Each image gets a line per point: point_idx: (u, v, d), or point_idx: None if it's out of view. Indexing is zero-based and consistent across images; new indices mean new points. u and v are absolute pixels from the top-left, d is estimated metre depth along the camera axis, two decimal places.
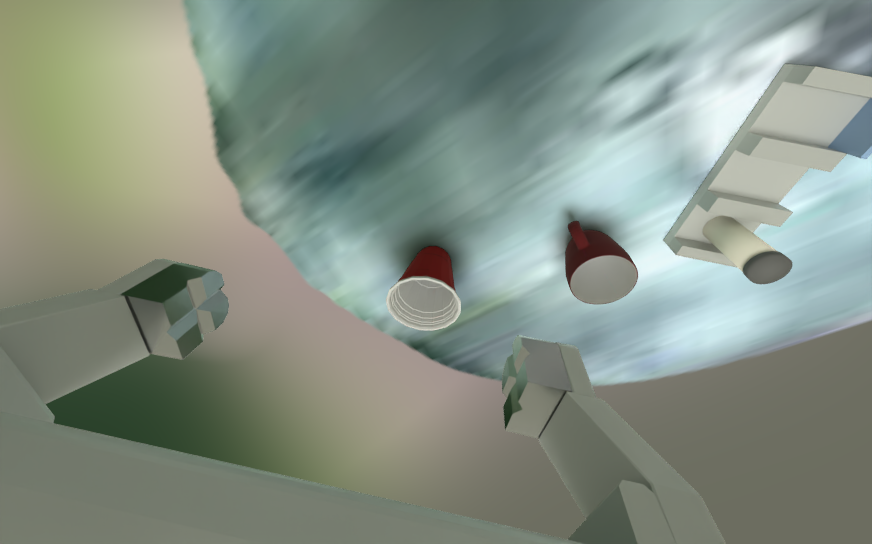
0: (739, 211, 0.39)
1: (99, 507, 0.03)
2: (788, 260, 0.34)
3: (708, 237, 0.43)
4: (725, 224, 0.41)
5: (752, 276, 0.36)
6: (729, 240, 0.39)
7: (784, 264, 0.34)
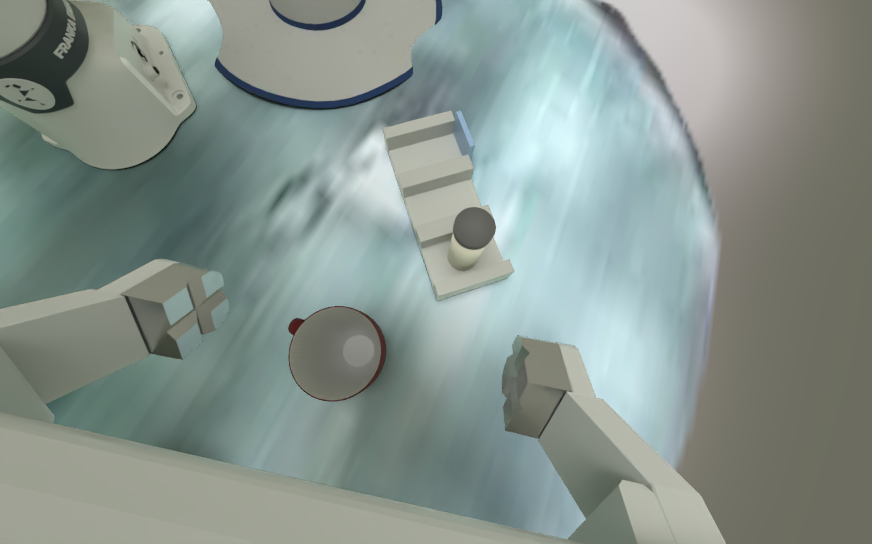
0: (445, 226, 0.37)
1: (99, 507, 0.03)
2: (476, 208, 0.29)
3: (455, 265, 0.37)
4: None
5: (467, 241, 0.28)
6: (450, 244, 0.34)
7: (478, 213, 0.29)
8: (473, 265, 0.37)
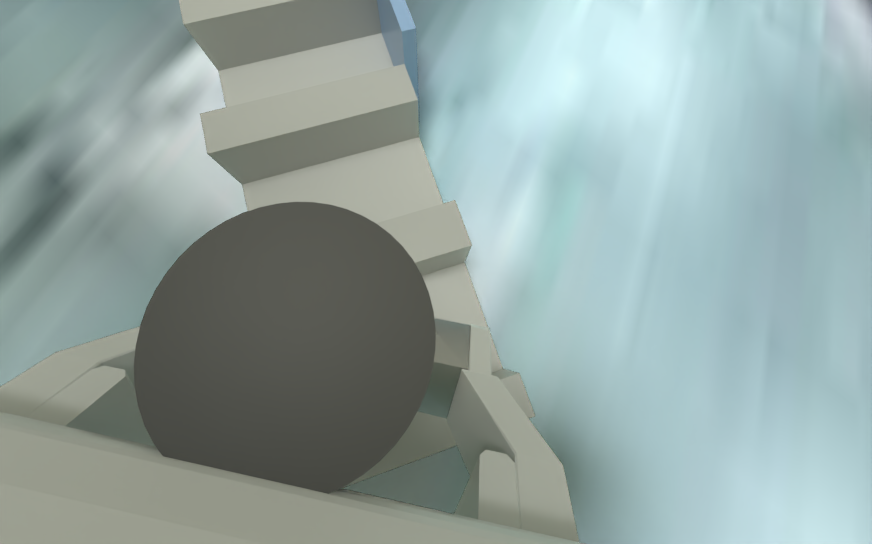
0: None
1: (99, 507, 0.03)
2: (318, 212, 0.05)
3: None
4: None
5: (218, 459, 0.04)
6: None
7: (327, 247, 0.04)
8: None
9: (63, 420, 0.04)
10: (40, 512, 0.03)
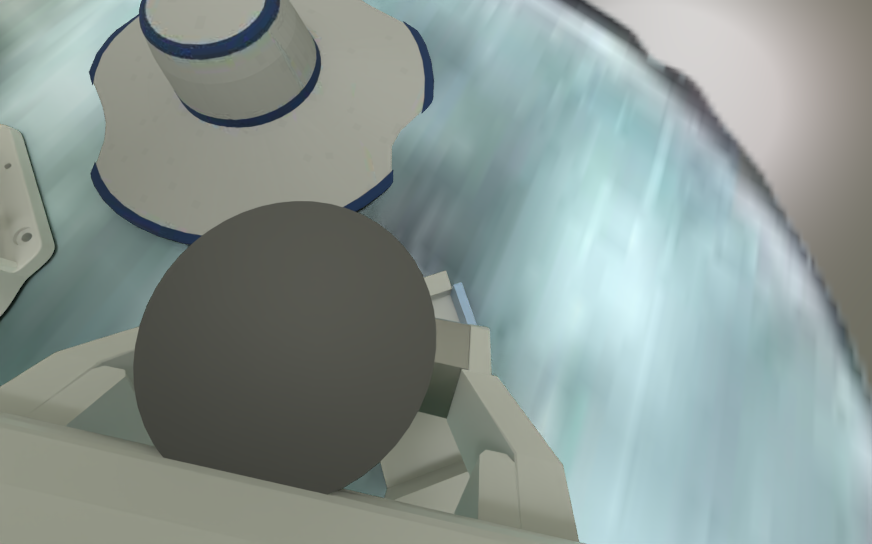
0: (436, 504, 0.21)
1: (99, 507, 0.03)
2: (318, 212, 0.04)
3: None
4: None
5: (218, 459, 0.04)
6: None
7: (328, 246, 0.04)
8: None
9: (63, 420, 0.04)
10: (40, 512, 0.03)
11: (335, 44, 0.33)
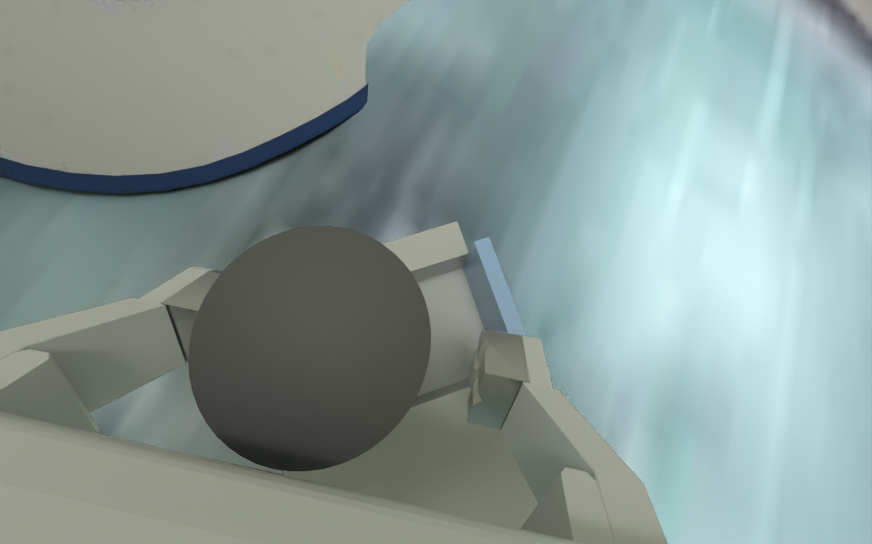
0: None
1: (99, 507, 0.03)
2: (334, 235, 0.05)
3: None
4: None
5: (257, 434, 0.05)
6: None
7: (342, 263, 0.05)
8: None
9: None
10: (39, 512, 0.03)
11: None
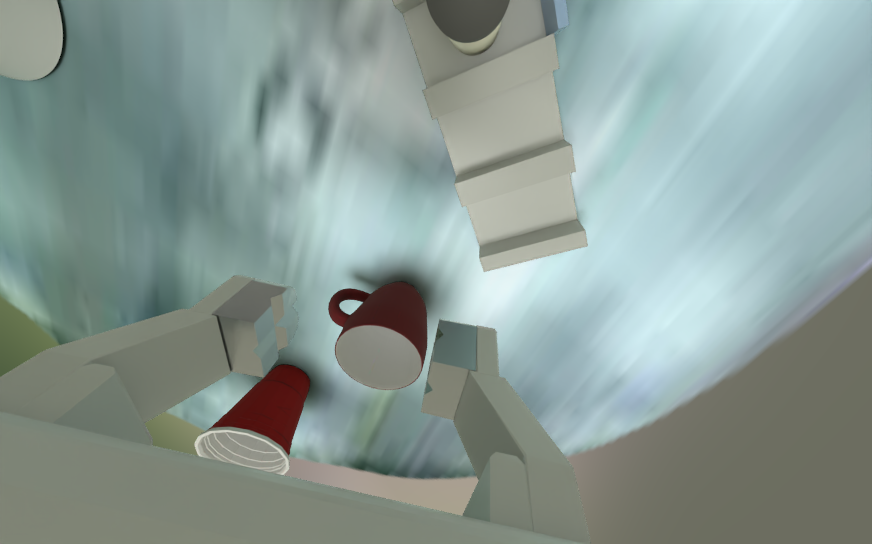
0: (499, 184, 0.25)
1: (99, 507, 0.03)
2: None
3: (457, 48, 0.22)
4: None
5: (453, 28, 0.15)
6: None
7: None
8: (489, 46, 0.22)
9: (50, 417, 0.04)
10: (40, 512, 0.03)
11: None
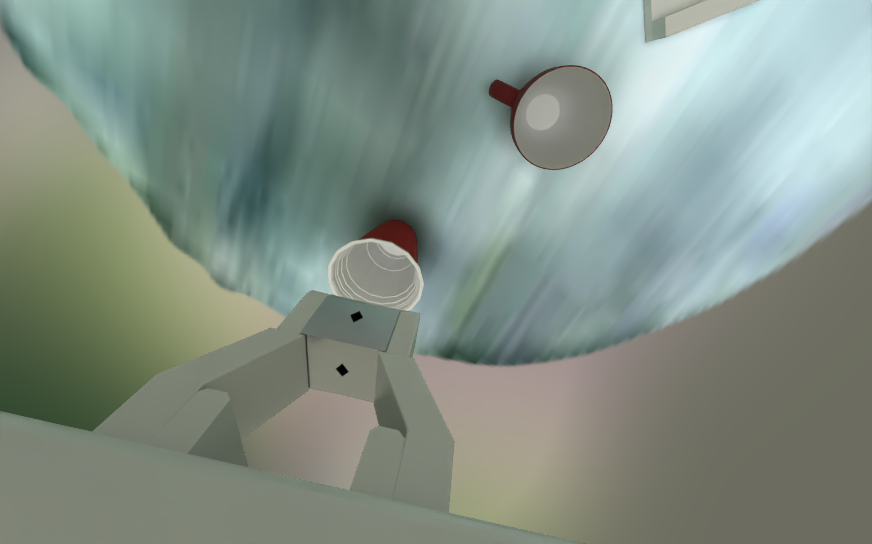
0: None
1: (99, 507, 0.03)
2: None
3: None
4: None
5: None
6: None
7: None
8: None
9: (182, 447, 0.04)
10: (40, 512, 0.03)
11: None
